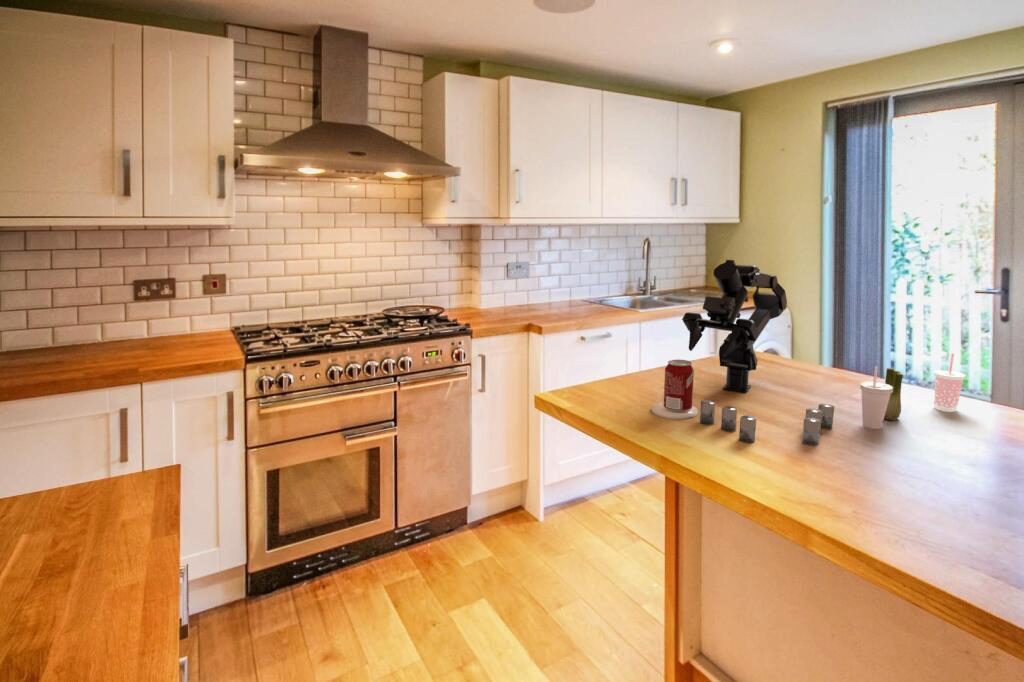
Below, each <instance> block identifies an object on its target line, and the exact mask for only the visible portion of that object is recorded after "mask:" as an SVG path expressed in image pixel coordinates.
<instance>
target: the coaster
mask: <svg viewBox="0 0 1024 682" xmlns="http://www.w3.org/2000/svg"><path fill="white" fill-rule="evenodd" d="M651 413H652V414H653V415H655V416H657V417H661V418H664V419H671V420H687V419H693V418H695V417H697V416H698V414H699V409H698V408H697V407H695V406H694V405H692V409H691V410H688V411H687V412H682V413H678V412H672V411H669V410H668V409H666V408H665V407H664V401H663V402H662V401H661V402H658V403H654V404H653V405H652V406H651Z"/></svg>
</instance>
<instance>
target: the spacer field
mask: <svg viewBox="0 0 1024 682" xmlns="http://www.w3.org/2000/svg"><path fill="white" fill-rule="evenodd" d="M715 412H716V402H715V401H713V400H705V399H704V400H702V401H700V416H699V423H700V424H701V425H704V426H714V425H715V417H716V413H715ZM834 413H835V405H833V404H831V403H818V409H817V408H806V409H805V417H804V419H803V427H802V438H801V442H802V443H803V444H805V445H807V446H818V445H819V443H820V435H821V429H822V428H823V429H824V430H831V429H833V424H834V416H835V415H834ZM737 417H738V408H737V407H734V406H730V405H729V406H728V405H724V406H722V408H721V423H720V424H721V425H720V430H721V431H723V432H727V433H733V432H736V430H737V419H738V418H737ZM739 418H740V420H739V434H738V441H740V442H741V443H746V444H753V443H755V441H756V430H757V429H756V428H757V418H756V417H754V416H752V415H743V416H740V417H739ZM823 429H822V430H823Z"/></svg>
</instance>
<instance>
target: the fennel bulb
mask: <svg viewBox="0 0 1024 682" xmlns="http://www.w3.org/2000/svg"><path fill="white" fill-rule="evenodd" d="M885 372H886V373H885V381H884V382H885V383H884V384H888V385H890V386H892V387H893V392H892V393H891V394H890V398H889V401H888V405H887V409H886V412H885V416H884V420H891V421H895V420H897V419H899V418H900V415H901V412H902V401H901V399H902V398H901V393H902V381H903V373H901V372H900V371H898V370H895V369H894V368H890V367H886V371H885Z"/></svg>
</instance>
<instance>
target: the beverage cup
mask: <svg viewBox="0 0 1024 682" xmlns="http://www.w3.org/2000/svg"><path fill="white" fill-rule="evenodd" d="M950 355H951V356H950V362H949V363H950V364H949V368H948V369H949V370H943V369H942V370H936V371H934V376H935V386H934V400H933V409H935V410H938V411H941V412H942V411H943V412H948V413H949V412H952V413H953V412H956V411H957V409H958V404H959V400H960V396H961V392H962V387H963V383H964V380H966V379H965V378H966V374H964V373H963V372H959V371H954V370H953V365H954V364H953V363H954V355H955V353H951V354H950Z"/></svg>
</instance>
